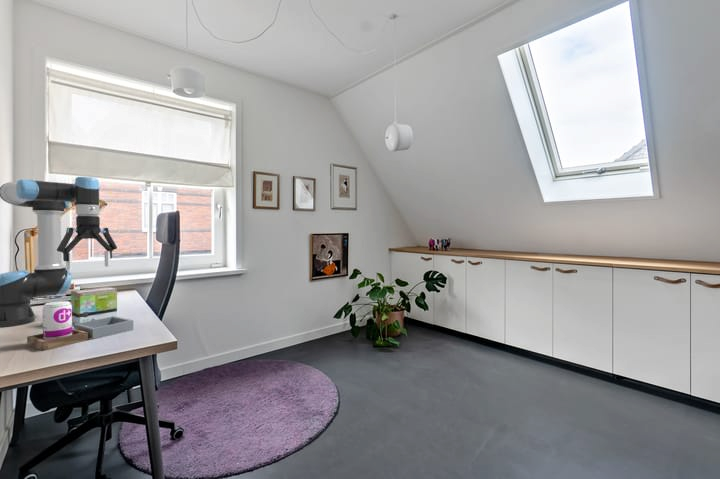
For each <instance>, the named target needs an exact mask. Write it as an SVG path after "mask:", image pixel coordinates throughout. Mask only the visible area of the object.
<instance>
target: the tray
mask: <svg viewBox="0 0 720 479" xmlns="http://www.w3.org/2000/svg"><path fill="white" fill-rule="evenodd" d="M73 328H74V329H77V330H81V331H85V332H88V339H89V340H97V339H101V338H105V337H109V336H113V335H117V334H121V333H125V332H130V331H134V319H128V318H124V317H119V316H117V317H115V316H112V317H107V318H102V319H97V320H92V321H87V322H82V323H77V324H74V323H73Z"/></svg>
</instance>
